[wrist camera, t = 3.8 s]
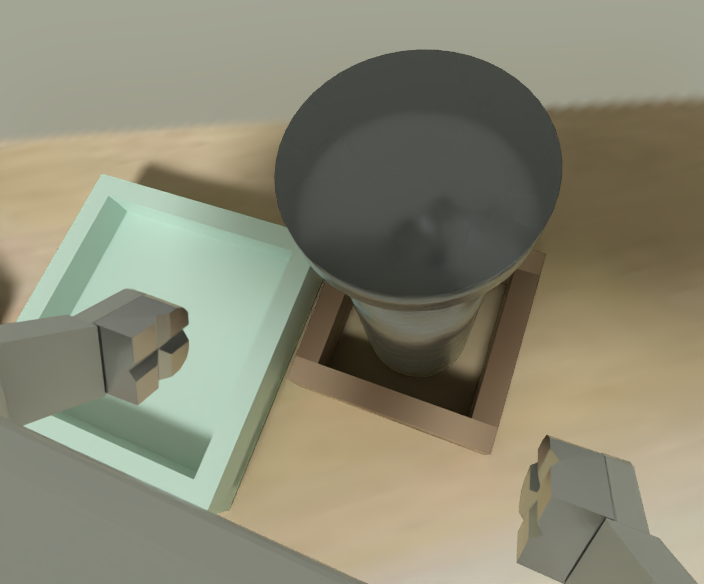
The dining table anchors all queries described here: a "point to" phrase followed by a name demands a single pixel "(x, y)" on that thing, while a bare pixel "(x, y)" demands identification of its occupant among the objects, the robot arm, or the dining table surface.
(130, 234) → the tray
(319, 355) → the socket block
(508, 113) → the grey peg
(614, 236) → the dining table surface
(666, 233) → the dining table surface
